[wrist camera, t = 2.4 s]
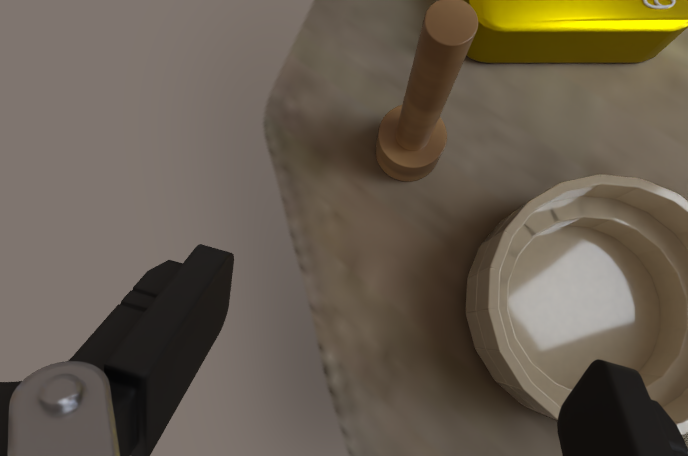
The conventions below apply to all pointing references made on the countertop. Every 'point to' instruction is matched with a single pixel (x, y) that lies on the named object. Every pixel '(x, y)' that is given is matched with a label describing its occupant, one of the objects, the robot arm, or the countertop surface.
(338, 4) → the countertop surface
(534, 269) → the bowl
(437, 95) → the wooden pestle
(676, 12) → the element tile
